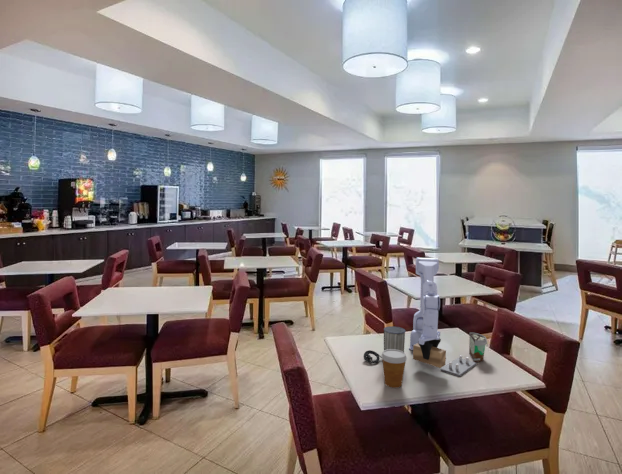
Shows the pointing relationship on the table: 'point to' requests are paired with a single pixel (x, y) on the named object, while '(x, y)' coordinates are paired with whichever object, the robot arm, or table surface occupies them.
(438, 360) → the shelf block
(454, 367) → the peg plate
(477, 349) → the food container
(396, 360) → the disposable coffee cup
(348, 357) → the table surface
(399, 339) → the milk frother
